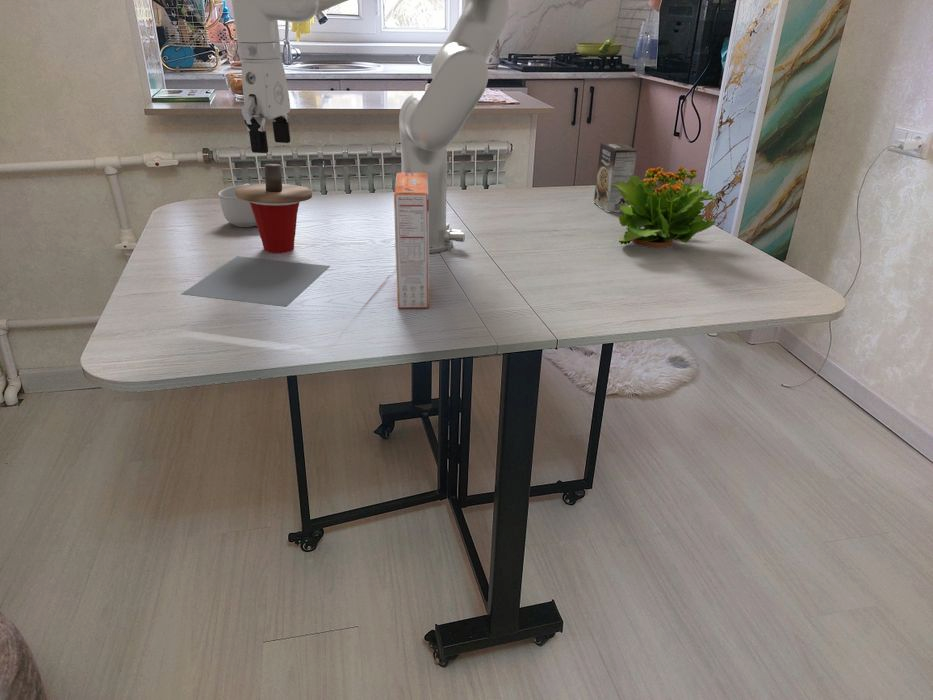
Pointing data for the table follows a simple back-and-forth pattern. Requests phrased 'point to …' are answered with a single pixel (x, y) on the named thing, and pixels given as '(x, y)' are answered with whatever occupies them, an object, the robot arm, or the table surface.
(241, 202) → the teacup
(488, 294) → the table surface
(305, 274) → the mat
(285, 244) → the plastic cup
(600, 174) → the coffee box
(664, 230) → the potted flower
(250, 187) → the lid
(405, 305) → the cracker box
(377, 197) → the table surface
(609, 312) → the table surface
